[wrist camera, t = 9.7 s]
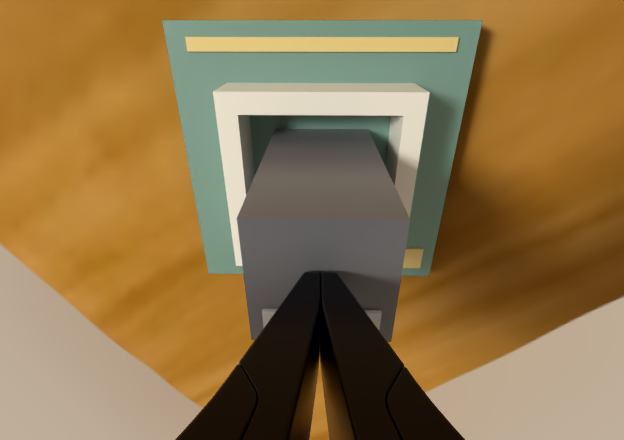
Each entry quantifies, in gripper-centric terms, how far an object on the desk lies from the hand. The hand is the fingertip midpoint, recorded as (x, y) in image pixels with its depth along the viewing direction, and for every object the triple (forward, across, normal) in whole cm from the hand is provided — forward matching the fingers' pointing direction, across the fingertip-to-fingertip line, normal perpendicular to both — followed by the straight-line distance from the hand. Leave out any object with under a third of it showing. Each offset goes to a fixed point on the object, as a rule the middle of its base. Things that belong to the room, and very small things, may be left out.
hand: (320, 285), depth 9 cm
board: (+9, 0, 0) cm, 9 cm away
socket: (+9, 0, 0) cm, 9 cm away
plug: (+8, 0, 0) cm, 8 cm away
